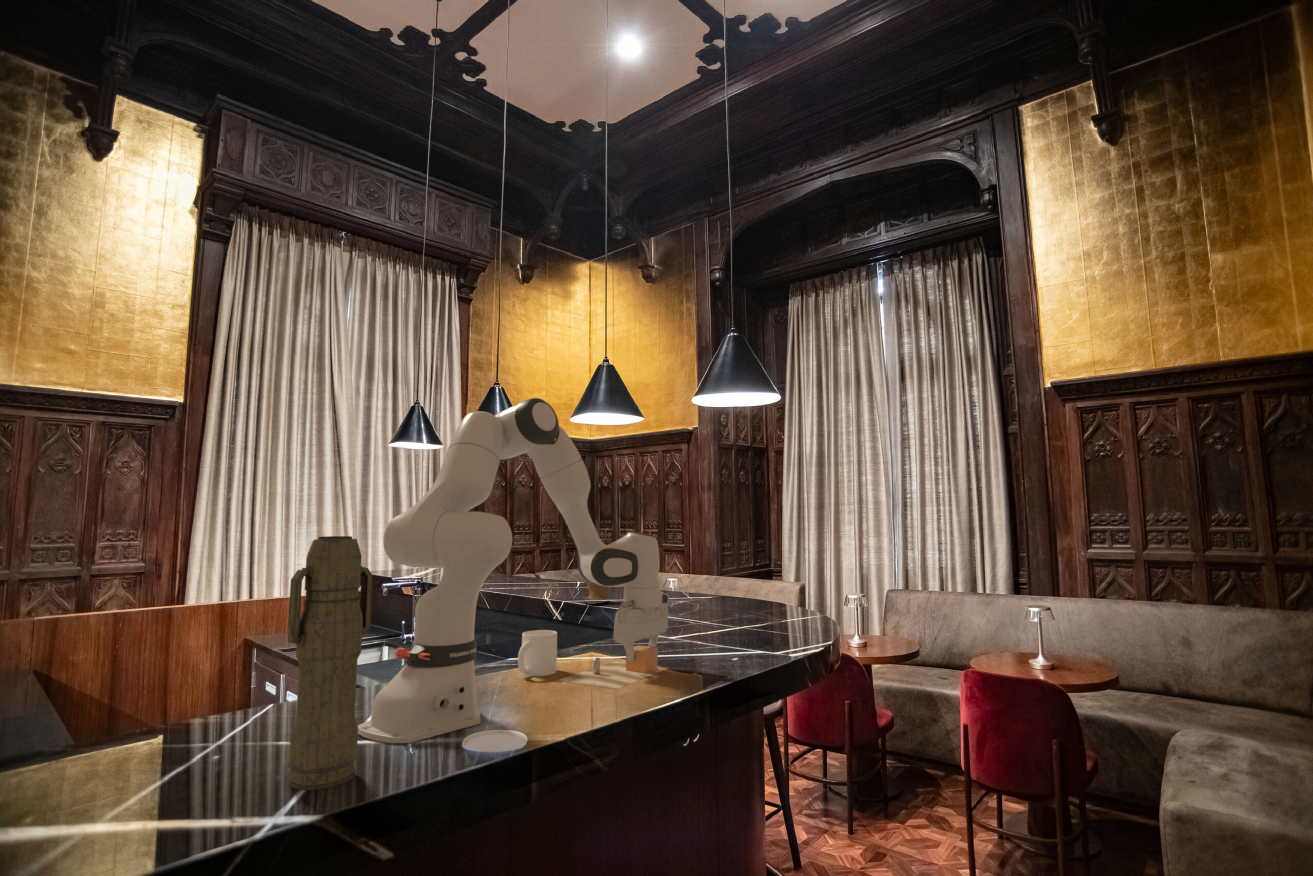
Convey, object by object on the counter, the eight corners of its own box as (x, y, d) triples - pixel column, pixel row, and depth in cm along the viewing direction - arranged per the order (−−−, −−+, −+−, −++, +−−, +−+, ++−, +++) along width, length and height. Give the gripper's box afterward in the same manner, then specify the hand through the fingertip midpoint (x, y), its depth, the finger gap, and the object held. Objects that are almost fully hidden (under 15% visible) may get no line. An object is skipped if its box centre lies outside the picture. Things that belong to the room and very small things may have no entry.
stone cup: (596, 601, 307) (596, 567, 309) (617, 603, 301) (617, 568, 302) (574, 604, 295) (575, 569, 296) (596, 606, 288) (596, 571, 290)
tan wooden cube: (645, 673, 160) (645, 651, 161) (625, 670, 163) (625, 649, 163) (657, 668, 165) (657, 647, 165) (637, 666, 168) (637, 645, 168)
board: (616, 695, 145) (616, 689, 145) (556, 686, 153) (556, 680, 153) (669, 672, 166) (669, 667, 166) (614, 665, 173) (614, 661, 174)
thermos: (377, 771, 102) (388, 536, 106) (302, 799, 92) (317, 538, 96) (340, 760, 106) (352, 535, 110) (265, 786, 96) (280, 537, 100)
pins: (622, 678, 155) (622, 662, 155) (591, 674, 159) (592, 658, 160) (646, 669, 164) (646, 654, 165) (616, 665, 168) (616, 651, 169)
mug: (532, 686, 153) (533, 639, 154) (503, 682, 156) (504, 636, 158) (563, 675, 163) (564, 631, 164) (535, 671, 167) (536, 629, 168)
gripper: (630, 604, 155) (630, 666, 154) (672, 595, 173) (672, 651, 171) (607, 602, 158) (606, 663, 157) (651, 594, 176) (651, 648, 174)
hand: (641, 657), depth 164 cm, fingers open, 8 cm apart
